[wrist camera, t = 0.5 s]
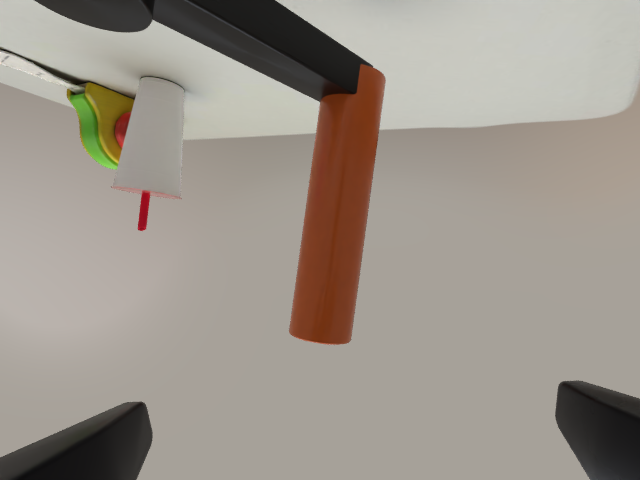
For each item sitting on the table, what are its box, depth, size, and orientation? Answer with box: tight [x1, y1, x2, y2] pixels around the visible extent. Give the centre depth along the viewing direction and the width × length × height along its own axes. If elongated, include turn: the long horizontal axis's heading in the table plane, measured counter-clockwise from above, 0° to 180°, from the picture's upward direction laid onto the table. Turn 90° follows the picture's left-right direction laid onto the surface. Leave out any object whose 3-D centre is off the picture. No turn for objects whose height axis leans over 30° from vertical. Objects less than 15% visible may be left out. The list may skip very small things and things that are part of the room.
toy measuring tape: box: [0, 50, 135, 170], centre depth 36 cm, size 6×20×7 cm, turn 33°
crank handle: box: [35, 0, 386, 345], centre depth 13 cm, size 13×3×12 cm, turn 45°
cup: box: [112, 77, 184, 231], centre depth 33 cm, size 5×5×12 cm
